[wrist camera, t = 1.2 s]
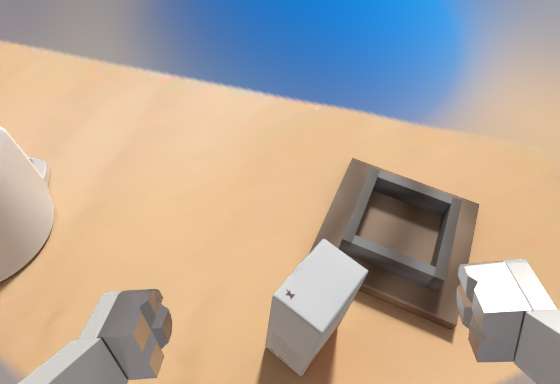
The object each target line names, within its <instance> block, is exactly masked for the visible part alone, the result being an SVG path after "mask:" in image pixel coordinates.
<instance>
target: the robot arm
mask: <svg viewBox="0 0 560 384" xmlns="http://www.w3.org/2000/svg"><path fill="white" fill-rule="evenodd" d="M49 178H50V168H49V166H48V165H47V164H46V163H45V161H43V160H41V159H37V158H32V157H28V156H26V154H25V153H24V152H23V151H22V149H21V148H20V147H19V146H18V144H17V143H16V142H15V141H14V139H13V138H12V137H11V136H10V134H9V133H8V132H7V131H6V130H5V129H4V128H2V127H0V282H1V281H3V280H5V279H7V278H8V277H10V276H11V275H13V274H14V273H16V272H17V271H19V270H20V269H21V268H22V267H24V266H25V265H26V264H27V263H28V262H29V261H30V260H31V259H32V258H33V257H34V256H35V255H36V254H37V253H38V251H39V250H40V249H41V248H42V246H43V245H44V243H45V242H46V240H47V238H48V236H49V234H50V232H51V229H52V226H53V222H54V213H55V211H54V203H53V200H52V197H51V195H50V192H49V189H48V183H49ZM458 277H459V279H460V282H461V284H460V285H459V286H458V287H457V306H458V311H459V315H460V318H461V321H462V323H463V325H465V326H466V327H467V328H468V329H469V338H468V340H469V342H470V345H471V347H472V350H473V353H474V355H475V358H476V360H477V362H514V364H515V365H517V366H518V367H519V368H520V369H521V370H522V371H523V372H524V373H525V374H526V375H528V376H529V377H530V378H531V379H532V380H533V381H534V382H535V383H536V384H560V309H557V307H556V306H555V304H554V303H553V301H552V299H551V298H550V296H549V295H548V293H547V291H546V290H545V288H544V287H543V285H542V284H541V282H540V280H539V279H538V277H537V276H536V274H535V273H534V271H533V269H532V268H531V266H530V265H529V263H528V262H527V261H526V260H525V259H514V260H503V261H492V262H481V263H470V264H460V267H459V271H458ZM162 299H163V297H162V295H161V293H160V291H159V290H157V289H146V290H127V291H115V292H106V293H104V294H103V295H102V296H101V298H100V300H99V301H98V303H97V305H96V307H95V309H94V311H93V312H92V314H91V316H90V318H89V320H88V322H87V323H86V325H85V327H84V329H83V331H82V333H81V334H80V336H79V338H78V340H72V341H71V342H70V343H68V344H67V345H66V346H65V347H63V348H62V349H61V350H60V351H58V352H57V353H56V354H55V355H53V356H52V357H51V358H50V359H48V360H47V361H46V362H45V363H43V364H42V365H41V366H40V367H38V368H37V369H36V370H35V371H33V372H32V373H31V374H30V375H28V376H27V377H26V378H25V379H23V380H22V381H21V382H20V383H18V384H127V382H128V381H127V380H136V379H148V378H157V376H158V373H159V370H160V367H161V364H162V361H163V358H164V355H163V352H162V350H161V349H162V348H163V347H164V346H165V345H166V344H167V343H168V342H169V340H170V336H171V333H172V319H171V314H170V312H169V310H168V308H166V307H165V306H163V305H162V304H161V302H162Z"/></svg>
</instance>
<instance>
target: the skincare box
mask: <svg viewBox="0 0 560 384" xmlns="http://www.w3.org/2000/svg"><path fill="white" fill-rule="evenodd" d="M367 273H368V270H367V269H365V268H364V267H362V266H361V265H360V264H358V263H357V262H356V261H354V260H353V259H351V258H350V257H349V256H347V255H346V254H345V253H343V252H342V251H341V250H339V249H338V248H337V247H335V246H334V245H332V244H331V243H330V242H328V241H327V240H326V239H322V240H321V241H320V242H319V244H318V245H317V246H316V247H315V248H314V249H313V250H312V251H311V253H310V254H309V255H308V256H307V257H306V258H305V259H304V260H303V261H302V262H301V263H300V264H299V265H298V266H297V267H296V269H295V270H294V271H293V272H292V274H291V275H290V276H289V277H288V278H287V279H286V280H285V282H284V283H283V284H282V285H281V286H280V287H279V289H278V290H277V291H276V292H275V293H274V295H273V297H272V303H271V311H270V317H269V324H268V331H267V337H266V344H265V346H266V347H267V348H268V349H269V350H270V351H271V352H272V353H274V354H275V355H276V356H277V357H278V358H279V359H280V360H282V361H283V362H284V363H285V364H286V365H288V366H289V367H290V368H291V369H292V370H293V371H294V372H296V373H297V374H298V375H299V376H300V377H301V376H303V374H304V373H305V371H306V370H307V368H308V367H309V366H310V364H311V363H312V361H313V360H314V359H315V357H316V356H317V355H318V353H319V352H320V350H321V349H322V348H323V346H324V345H325V344H326V342H327V341H328V339H329V338H330V337H331V335H332V334H333V333H334V332H335V330H336V329H337V328H338V326H339V324H340V323H341V321H342V319H343V317H344V315H345V314H346V312H347V310H348V308H349V306H350V305H351V303H352V301H353V299H354V297H355V296H356V294H357V292H358V290H359V288H360V286H361V285H362V283H363V281H364V279H365V277H366V275H367Z"/></svg>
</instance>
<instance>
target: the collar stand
mask: <svg viewBox="0 0 560 384" xmlns="http://www.w3.org/2000/svg"><path fill="white" fill-rule="evenodd" d="M478 208H479V204H477V203H474V202H472V201H469V200H466V199H463V198H461V197H458V196H455V195H452V194H450V193H447V192H444V191H442V190H439V189H436V188H433V187H431V186H428V185H425V184H422V183H420V182H417V181H414V180H411V179H409V178H406V177H403V176H400V175H398V174H395V173H392V172H389V171H387V170H384V169H381V168H378V167H376V166H373V165H370V164H367V163H365V162H362V161H359V160H356V159H354V158H352V160H351V162H350V165H349V167H348V169H347V171H346V173H345V176H344V178H343V180H342V182H341V184H340V187H339V189H338V191H337V193H336V196H335V198H334V200H333V202H332V204H331V207H330V209H329V211H328V213H327V215H326V218H325V220H324V222H323V224H322V226H321V229H320V231H319V233H318V235H317V238H316V240H315V242H314V244H313V246H312V249H311V251H312V250H313V249H314V248H315V247H316V246H317V245H318V244H319V242H320V241H321V240H322V239H326V240H327V241H328V242H330V243H331V244H332V245H334V246H335V247H337V248H338V249H339V250H341V251H342V252H343V253H345V254H346V255H347V256H349V257H350V258H351V259H353V260H354V261H356V262H357V263H358V264H360V265H361V266H362V267H364V268H365V269H367V270H368V273H367V275H366V277H365V279H364V281H363V283H362V285H361V286H360V288H359V290H360V291H363V292H365V293H367V294H370V295H372V296H374V297H377V298H379V299H381V300H384V301H386V302H388V303H391V304H393V305H395V306H398V307H400V308H403V309H405V310H407V311H410V312H412V313H414V314H417V315H419V316H421V317H424V318H426V319H428V320H431V321H433V322H435V323H438V324H440V325H442V326H445V327H447V328H449V329H452V328H454V327H455V326H456V325H457V319H458V314H459V311H458V306H457V287H458V286H459V285H460V284H461V282H460V279H459V277H458V271H459V267H460V264H468V261H469V256H470V250H471V245H472V240H473V235H474V229H475V224H476V219H477V213H478ZM311 251H310V253H311ZM310 253H309V254H310Z"/></svg>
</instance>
